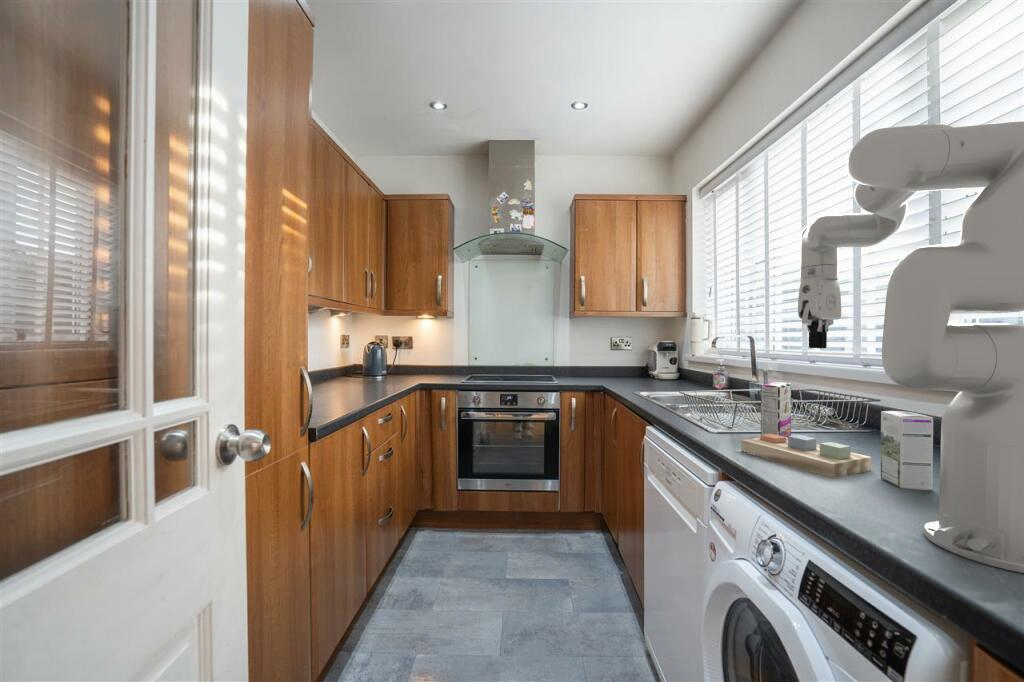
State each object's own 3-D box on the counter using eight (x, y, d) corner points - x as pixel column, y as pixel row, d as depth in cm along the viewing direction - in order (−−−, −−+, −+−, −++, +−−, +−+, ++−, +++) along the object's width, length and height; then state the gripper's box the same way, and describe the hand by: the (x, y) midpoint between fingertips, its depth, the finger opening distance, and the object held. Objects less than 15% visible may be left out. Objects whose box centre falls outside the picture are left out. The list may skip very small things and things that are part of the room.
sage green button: (839, 461, 87) (840, 448, 87) (819, 456, 90) (819, 443, 90) (850, 459, 88) (850, 446, 88) (830, 454, 92) (830, 441, 92)
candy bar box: (771, 435, 120) (772, 381, 120) (791, 438, 117) (792, 383, 116) (759, 441, 113) (760, 384, 113) (779, 445, 109) (780, 385, 109)
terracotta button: (775, 450, 100) (775, 438, 100) (760, 446, 103) (760, 434, 103) (786, 448, 101) (786, 437, 101) (770, 444, 105) (770, 433, 105)
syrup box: (934, 491, 77) (936, 416, 77) (898, 488, 78) (900, 415, 78) (911, 480, 83) (912, 411, 82) (878, 478, 84) (879, 409, 84)
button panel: (833, 478, 83) (833, 464, 83) (741, 451, 103) (741, 439, 103) (871, 470, 89) (871, 457, 89) (777, 446, 108) (777, 435, 108)
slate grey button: (805, 452, 93) (805, 440, 93) (788, 448, 97) (788, 436, 97) (816, 451, 95) (816, 438, 95) (798, 446, 98) (798, 434, 98)
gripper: (816, 270, 93) (815, 348, 93) (854, 274, 98) (852, 348, 99) (783, 274, 100) (782, 347, 100) (820, 278, 105) (819, 347, 106)
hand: (817, 348), depth 99 cm, fingers closed
